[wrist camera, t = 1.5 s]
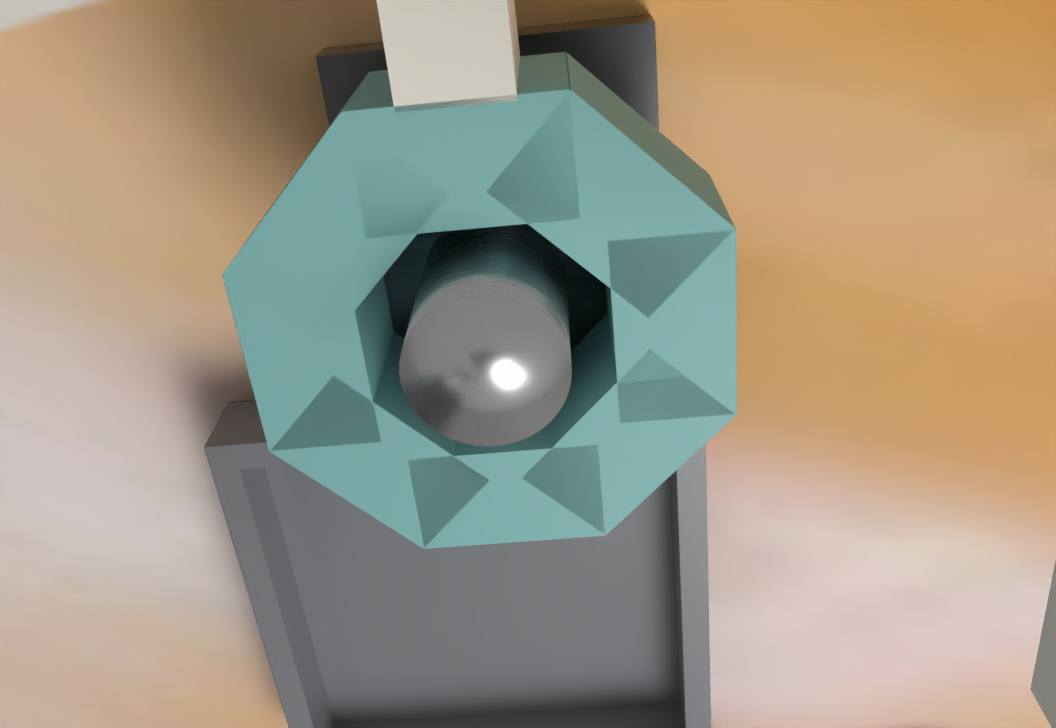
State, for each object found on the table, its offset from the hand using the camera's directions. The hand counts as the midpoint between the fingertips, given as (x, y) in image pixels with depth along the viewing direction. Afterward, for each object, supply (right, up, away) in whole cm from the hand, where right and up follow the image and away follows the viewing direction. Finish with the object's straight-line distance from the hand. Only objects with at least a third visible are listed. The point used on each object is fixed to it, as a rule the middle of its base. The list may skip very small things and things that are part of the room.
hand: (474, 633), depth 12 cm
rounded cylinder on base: (0, +8, +15) cm, 17 cm away
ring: (0, +6, +9) cm, 11 cm away
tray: (-1, -3, +21) cm, 21 cm away
